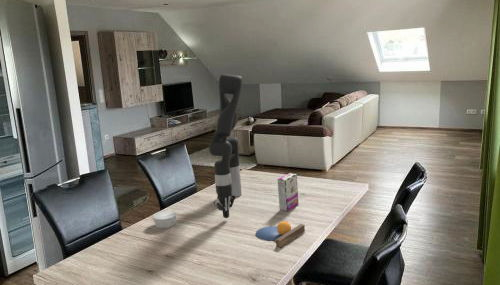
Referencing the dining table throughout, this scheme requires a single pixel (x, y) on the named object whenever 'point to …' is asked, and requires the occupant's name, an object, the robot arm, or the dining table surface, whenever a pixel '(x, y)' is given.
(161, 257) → the dining table surface
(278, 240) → the wooden stick
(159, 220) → the ramekin
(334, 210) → the dining table surface
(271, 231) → the blue disc
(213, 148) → the robot arm
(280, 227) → the ball
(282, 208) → the candy bar box
